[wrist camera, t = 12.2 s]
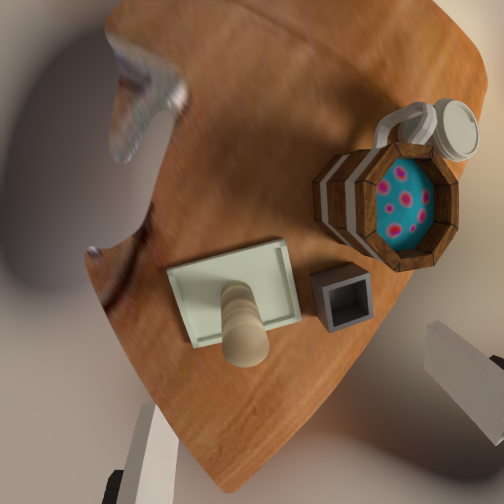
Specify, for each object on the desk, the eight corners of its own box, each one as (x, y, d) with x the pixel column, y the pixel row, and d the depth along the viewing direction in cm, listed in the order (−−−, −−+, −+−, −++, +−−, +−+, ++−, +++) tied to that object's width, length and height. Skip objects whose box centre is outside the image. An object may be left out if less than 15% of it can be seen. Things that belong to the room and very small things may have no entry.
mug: (376, 256, 42) (438, 287, 28) (296, 229, 40) (339, 253, 25) (411, 138, 39) (478, 127, 24) (337, 99, 36) (392, 64, 22)
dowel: (216, 285, 40) (216, 334, 26) (248, 276, 40) (263, 322, 26) (225, 314, 41) (229, 371, 27) (256, 305, 41) (273, 360, 27)
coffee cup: (437, 139, 39) (488, 133, 28) (415, 174, 40) (467, 175, 28) (405, 100, 37) (454, 83, 26) (380, 135, 38) (430, 123, 27)
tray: (168, 268, 39) (166, 271, 38) (282, 238, 40) (285, 239, 39) (194, 343, 42) (193, 348, 41) (299, 316, 43) (302, 320, 41)
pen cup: (309, 274, 41) (322, 287, 36) (352, 262, 42) (369, 272, 36) (317, 316, 43) (329, 333, 38) (357, 303, 43) (373, 317, 38)
